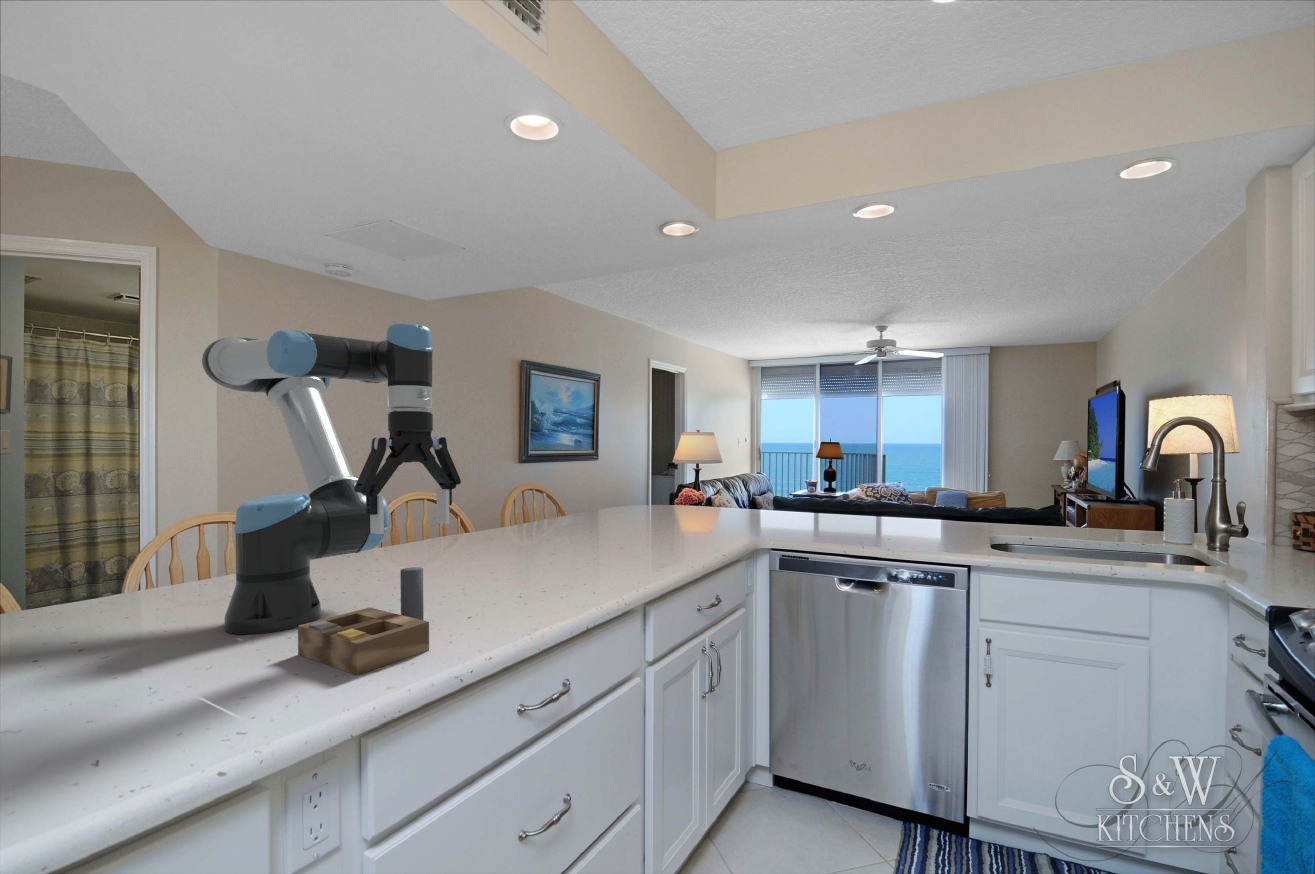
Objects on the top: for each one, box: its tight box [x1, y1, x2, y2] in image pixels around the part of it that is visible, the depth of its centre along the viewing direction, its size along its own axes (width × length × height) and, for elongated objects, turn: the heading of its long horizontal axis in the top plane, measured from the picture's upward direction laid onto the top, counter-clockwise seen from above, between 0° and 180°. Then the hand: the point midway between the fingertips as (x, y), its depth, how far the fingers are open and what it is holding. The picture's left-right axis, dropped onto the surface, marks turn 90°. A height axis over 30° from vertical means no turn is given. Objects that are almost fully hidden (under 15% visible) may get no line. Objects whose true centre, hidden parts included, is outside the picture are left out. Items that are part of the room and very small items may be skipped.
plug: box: [400, 566, 425, 621], centre depth 111 cm, size 4×4×10 cm
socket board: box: [297, 607, 430, 676], centre depth 97 cm, size 16×12×5 cm
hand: (411, 528), depth 111 cm, fingers open, 13 cm apart
